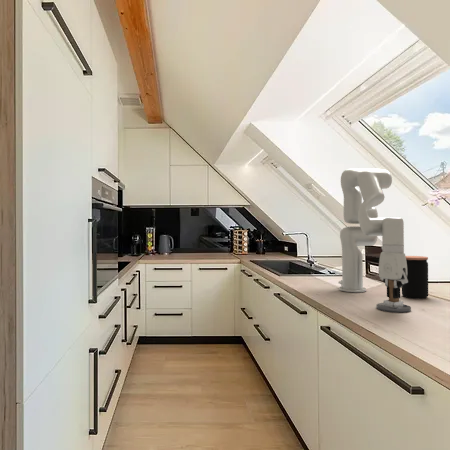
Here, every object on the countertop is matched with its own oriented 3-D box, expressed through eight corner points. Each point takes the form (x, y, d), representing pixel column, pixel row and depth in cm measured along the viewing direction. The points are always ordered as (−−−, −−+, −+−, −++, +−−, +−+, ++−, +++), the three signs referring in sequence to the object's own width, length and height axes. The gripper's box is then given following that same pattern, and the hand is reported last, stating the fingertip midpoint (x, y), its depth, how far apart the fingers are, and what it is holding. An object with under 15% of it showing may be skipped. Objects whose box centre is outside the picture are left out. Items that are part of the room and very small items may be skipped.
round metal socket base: (369, 307, 143) (369, 299, 143) (392, 304, 148) (392, 296, 148) (394, 314, 132) (394, 305, 132) (418, 310, 137) (418, 302, 137)
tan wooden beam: (388, 305, 141) (388, 279, 141) (393, 305, 142) (393, 279, 142) (394, 307, 138) (393, 280, 138) (399, 306, 139) (398, 280, 139)
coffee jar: (419, 294, 169) (419, 255, 169) (433, 299, 159) (433, 257, 159) (397, 294, 169) (396, 255, 169) (409, 299, 158) (409, 258, 158)
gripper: (369, 248, 146) (370, 294, 146) (403, 250, 131) (403, 302, 131) (384, 248, 149) (384, 293, 149) (418, 250, 134) (418, 300, 134)
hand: (393, 297), depth 140 cm, fingers closed on tan wooden beam, 2 cm apart
